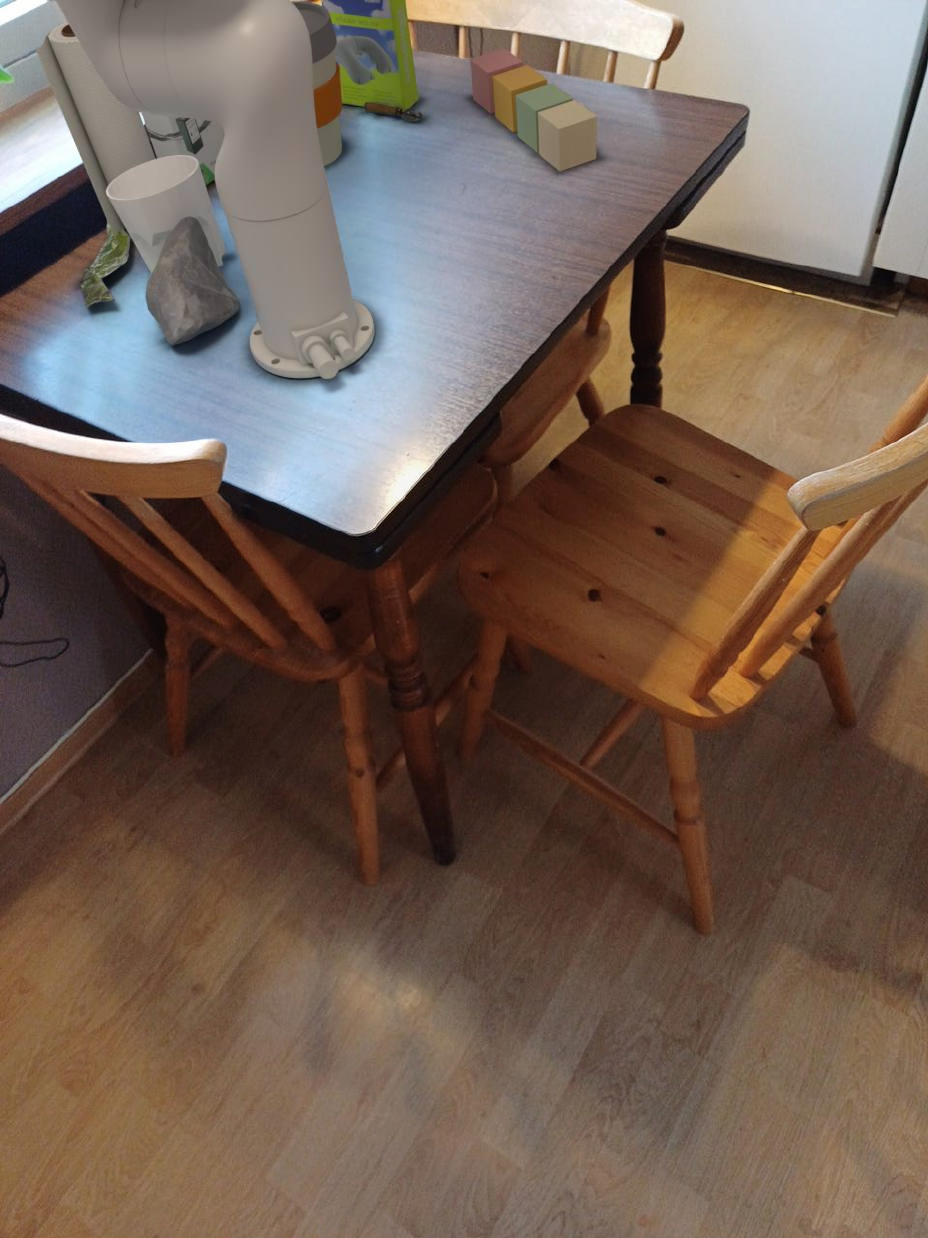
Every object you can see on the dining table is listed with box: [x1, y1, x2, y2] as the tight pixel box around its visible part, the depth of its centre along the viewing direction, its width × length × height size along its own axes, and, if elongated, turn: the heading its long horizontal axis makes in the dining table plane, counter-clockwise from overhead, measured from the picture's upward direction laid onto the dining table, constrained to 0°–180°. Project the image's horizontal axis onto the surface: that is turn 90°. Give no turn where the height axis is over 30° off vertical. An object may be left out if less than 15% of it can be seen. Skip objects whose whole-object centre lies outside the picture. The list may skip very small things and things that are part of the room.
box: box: [320, 0, 419, 111], centre depth 120 cm, size 10×4×17 cm, turn 63°
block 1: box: [469, 48, 524, 115], centre depth 121 cm, size 5×5×5 cm
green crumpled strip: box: [79, 220, 132, 309], centre depth 109 cm, size 6×25×2 cm, turn 178°
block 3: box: [538, 99, 598, 173], centre depth 111 cm, size 5×5×5 cm
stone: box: [144, 216, 240, 346], centre depth 97 cm, size 12×11×10 cm
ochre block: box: [492, 64, 548, 133], centre depth 118 cm, size 5×5×5 cm
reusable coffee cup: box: [290, 0, 343, 167], centre depth 114 cm, size 12×13×15 cm
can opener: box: [363, 102, 424, 122], centre depth 123 cm, size 9×2×1 cm, turn 56°
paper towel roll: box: [35, 21, 157, 238], centre depth 104 cm, size 7×6×21 cm
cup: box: [106, 155, 227, 275], centre depth 102 cm, size 10×10×10 cm
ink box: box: [141, 113, 224, 186], centre depth 114 cm, size 9×5×12 cm, turn 146°
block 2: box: [516, 82, 574, 154], centre depth 114 cm, size 5×5×5 cm
